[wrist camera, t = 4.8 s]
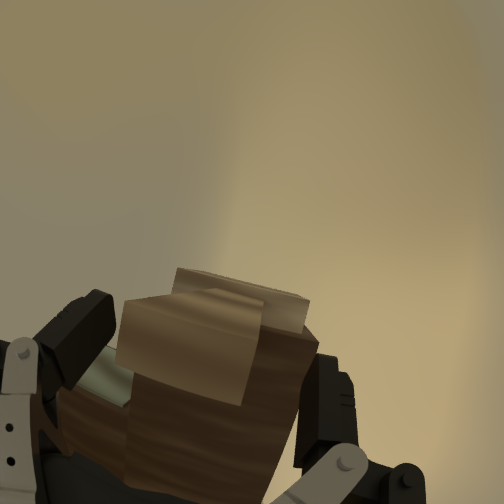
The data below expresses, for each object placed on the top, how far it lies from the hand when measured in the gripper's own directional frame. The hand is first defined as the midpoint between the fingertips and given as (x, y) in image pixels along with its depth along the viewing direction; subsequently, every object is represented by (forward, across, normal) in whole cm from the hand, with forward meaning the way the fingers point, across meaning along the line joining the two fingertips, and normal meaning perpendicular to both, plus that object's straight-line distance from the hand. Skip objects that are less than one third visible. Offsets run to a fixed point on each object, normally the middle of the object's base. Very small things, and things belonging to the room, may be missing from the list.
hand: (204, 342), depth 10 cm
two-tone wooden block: (-3, +6, +36) cm, 36 cm away
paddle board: (+7, 0, +5) cm, 8 cm away
